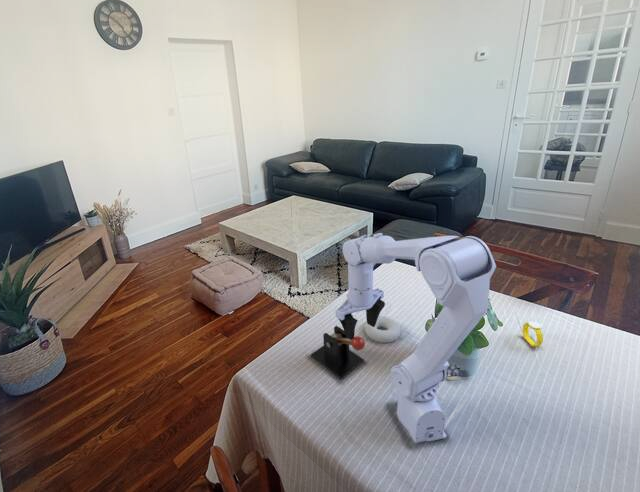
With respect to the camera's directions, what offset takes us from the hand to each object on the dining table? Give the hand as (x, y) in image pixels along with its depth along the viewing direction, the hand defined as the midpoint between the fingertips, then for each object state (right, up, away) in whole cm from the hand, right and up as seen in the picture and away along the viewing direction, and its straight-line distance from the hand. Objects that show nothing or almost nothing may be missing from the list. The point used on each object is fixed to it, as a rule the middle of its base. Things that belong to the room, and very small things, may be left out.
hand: (360, 331), depth 85 cm
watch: (+47, -5, +5) cm, 48 cm away
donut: (+10, -5, +13) cm, 17 cm away
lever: (-3, -4, -1) cm, 5 cm away
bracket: (-5, -10, +5) cm, 12 cm away
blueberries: (+22, -10, -1) cm, 24 cm away
